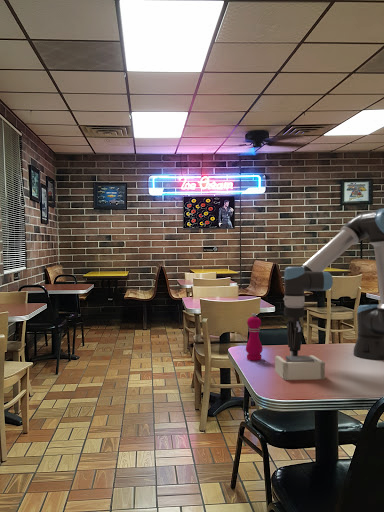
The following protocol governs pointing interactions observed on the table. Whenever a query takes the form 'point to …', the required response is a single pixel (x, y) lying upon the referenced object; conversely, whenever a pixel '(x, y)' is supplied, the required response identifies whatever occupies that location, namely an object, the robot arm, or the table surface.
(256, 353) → the pepper mill
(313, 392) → the table surface
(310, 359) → the rounded grey cube
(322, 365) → the bay
